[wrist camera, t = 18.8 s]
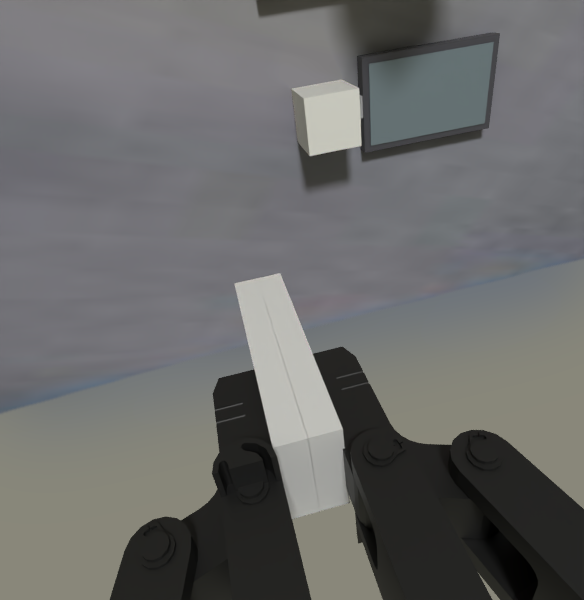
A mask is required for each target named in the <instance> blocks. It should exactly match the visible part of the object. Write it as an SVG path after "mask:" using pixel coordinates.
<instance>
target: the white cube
mask: <svg viewBox="0 0 584 600" xmlns="http://www.w3.org/2000/svg"><path fill="white" fill-rule="evenodd" d="M291 90H292V98H293V107H294V115H295V123H296V132H297V140H298V143H299V144H300V145H301V147H302V148H303V149H304V150H305V151H306V152H307V153H308V155H309V156H313V155H318V154H323V153H328V152H333V151H338V150H343V149H348V148H353V147H358V146H362V145H361V108H360V95H359V88H358V87H356V86H354V85H352V84H350V83H348V82H346V81H344V80H337V81H331V82H326V83H320V84H315V85H310V86H304V87H299V88H293V89H291Z"/></svg>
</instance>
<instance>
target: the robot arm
mask: <svg viewBox="0 0 584 600" xmlns="http://www.w3.org/2000/svg"><path fill="white" fill-rule="evenodd" d="M235 288H236V292H237V297H238V301H239V305H240V310H241V314H242V318H243V322H244V327H245V331H246V335H247V340H248V344H249V348H250V353H251V356H252V361H253V365H254V370H250V371H246V372H242V373H239V374H234V375H231V376H226V377H222V378H219V379H218V382H217V384H216V387H215V389H214V392H213V399H214V407H215V417H216V423H217V434H218V443H219V452H220V453H219V454H218V456H217V458H216V459H215V461H214V464H213V471H212V475H213V477H214V480H215V483H216V486H217V488H218V490H217V491H216V493H215V495H214V496H213V497H212V498H211V500H210V501H209V502H208V503H207V504H205V505H204V506H203V507H202V508H200V509H199V510H197V511H196V512H194V513H192V514H191V515H189V516H188V517H186V518H184V519H183V520H181V521H180V520H179V519H177V518H171V517H162V518H158V519H154V520H152V521H150V522H148V523H147V524H145V525H144V526H142V527H141V528H140V529H139V530H138V531H137V532H136V533H135V534H134V535H133V536H132V537H131V539H130V541H129V543H128V545H127V547H126V549H125V551H124V555H123V558H122V561H121V565H120V568H119V571H118V574H117V578H116V581H115V584H114V587H113V591H112V594H111V597H110V600H311V597H310V593H309V588H308V584H307V581H306V576H305V572H304V568H303V564H302V559H301V555H300V551H299V547H298V543H297V539H296V534H295V530H294V526H293V522H292V519H295V518H299V517H302V516H306V515H309V514H312V513H316V512H319V511H323V510H326V509H330V508H333V507H336V506H340V505H344V504H347V503H349V496H350V498H351V501H352V504H353V507H354V509H355V515H356V527H357V536H358V543H361V542H363V545H364V547H365V550H366V553H367V555H368V559H369V561H370V564H371V567H372V570H373V573H374V576H375V578H376V581H377V584H378V587H379V590H380V593H381V595H382V598H383V600H492V598H491V596H490V595H489V593H488V591H487V589H486V587H485V585H484V583H483V582H482V580H481V578H480V576H479V574H480V575H481V577H482V578H483V579H484V580H485V581H486V583H487V584H488V585H489V586H490V588H491V589H492V590H493V591H494V592H495V594H496V595H497V596H498V597H499V599H500V600H584V509H583V508H582V507H581V506H579V505H578V504H577V503H576V502H575V501H574V500H573V499H572V498H570V497H569V496H568V495H567V494H566V493H565V492H564V491H562V490H561V489H560V488H559V487H558V486H557V485H556V484H554V482H552V481H551V480H550V479H549V478H548V477H547V476H546V475H544V474H543V473H542V472H541V471H540V470H539V469H538V468H537V467H535V466H534V465H533V464H532V463H531V462H530V461H529V460H528V459H526V458H525V457H524V456H523V455H522V454H521V453H520V452H518V451H517V450H516V449H515V448H514V447H513V446H512V445H510V444H509V443H508V442H507V441H506V440H504V439H503V438H501V437H499V436H498V435H496V434H494V433H491V432H487V431H484V430H470V431H467V432H463V433H461V434H459V435H458V436H457V437H456V438H455V439H454V440H453V442H452V445H434V444H421V443H416V442H413V441H410V440H408V439H406V438H404V437H402V436H401V435H400V434H399V433H397V432H396V431H395V430H394V428H393V427H392V425H391V424H390V422H389V420H388V418H387V417H386V415H385V413H384V411H383V409H382V407H381V405H380V403H379V401H378V399H377V397H376V395H375V393H374V391H373V389H372V387H371V386H370V384H369V383H368V380H367V378H366V376H365V374H364V373H363V370H362V368H361V366H360V364H359V363H358V361H357V359H356V357H355V356H354V355H353V354H351V353H350V352H349V351H347V350H346V349H345V348H344V347H339V348H335V349H331V350H327V351H323V352H319V353H314V354H312V351H311V349H310V346H309V344H308V342H307V340H306V337H305V334H304V331H303V329H302V327H301V324H300V322H299V319H298V317H297V314H296V312H295V309H294V307H293V304H292V302H291V299H290V297H289V294H288V292H287V289H286V287H285V284H284V282H283V279H282V277H281V275H280V273H279V274H275V275H270V276H266V277H261V278H257V279H252V280H248V281H243V282H239V283H235ZM478 573H479V574H478Z"/></svg>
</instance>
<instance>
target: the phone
mask: <svg viewBox="0 0 584 600" xmlns="http://www.w3.org/2000/svg"><path fill="white" fill-rule="evenodd" d="M499 36H500V33H487V34H481V35H476V36H470V37H464V38H458V39H453V40H447V41H441V42H435V43H430V44H424V45H418V46H412V47H407V48H401V49H395V50H389V51H384V52H378V53H372V54H366V55H361V56H357V61H358V87H359V95H360V108H361V145H362V146H361V150H362V151H364V152H365V153H366V152H371V151H376V150H381V149H386V148H391V147H396V146H401V145H406V144H411V143H416V142H421V141H426V140H431V139H436V138H441V137H446V136H451V135H456V134H461V133H466V132H471V131H476V130H481V129H486V128H489V122H490V113H491V105H492V96H493V88H494V79H495V70H496V62H497V53H498V45H499Z"/></svg>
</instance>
